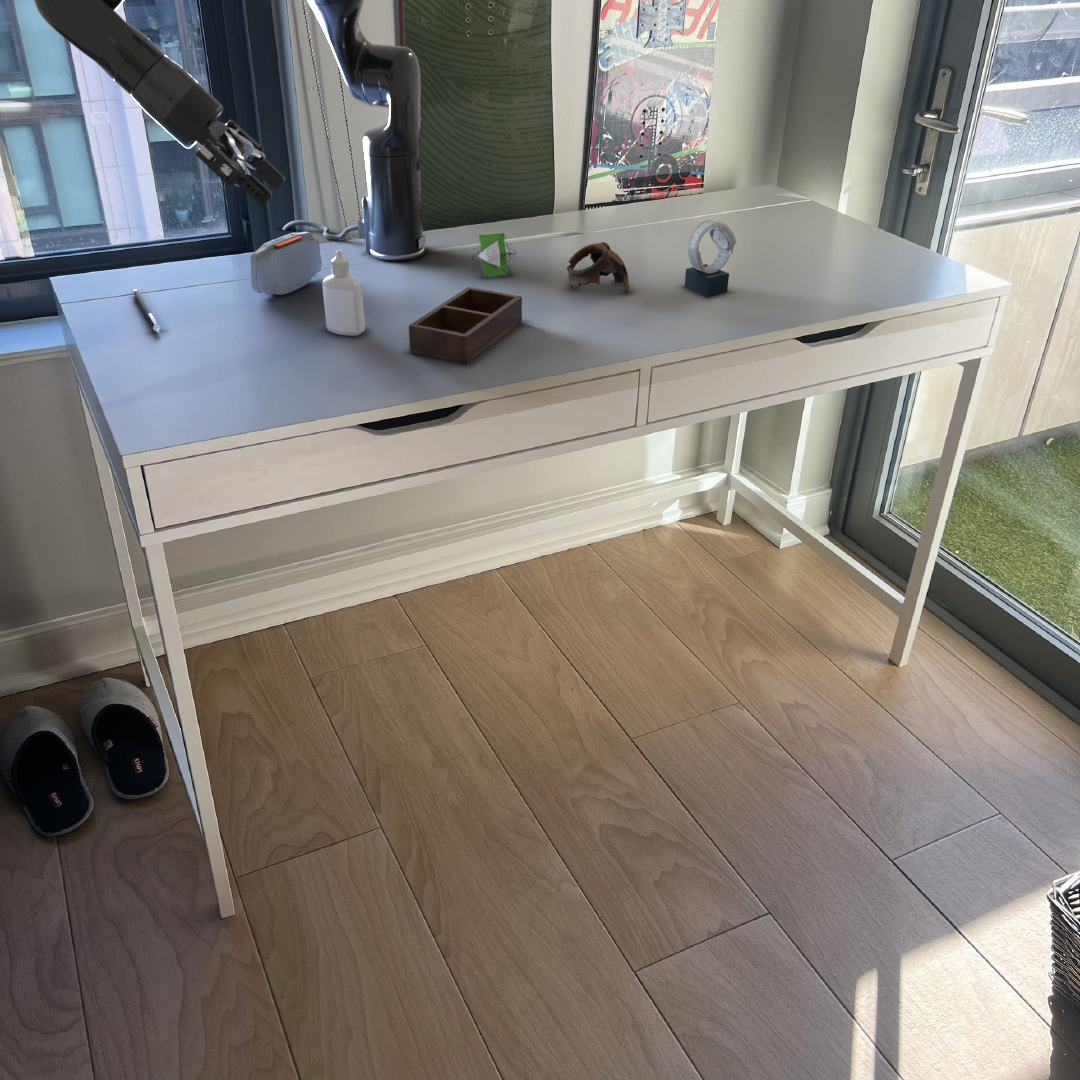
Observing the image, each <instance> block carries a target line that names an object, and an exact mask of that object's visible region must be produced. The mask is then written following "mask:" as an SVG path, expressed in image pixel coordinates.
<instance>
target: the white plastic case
mask: <svg viewBox="0 0 1080 1080" xmlns="http://www.w3.org/2000/svg"><path fill="white" fill-rule="evenodd" d="M320 246H321V245H320V241H319V240H318V239H314V237H313V234H312V232H310V231H300V232H290V233H287V234H285V235H282V236H280V237H278V238H275V239H271V240H269V241H267V242H265V243H263V244H262V245H261V246H260V247H259V248H257V250H254V252H253V253H252V254H251V255H250V278H251V289H252V290H253V292H255V293H256V294H260V295H261V294H264V295H265V294H266V295H268V296H269V295H279V296H282V295H285V294H286V295H287V294H289V293H292V292H294V291H297V290H299V289H301V288H302V287H304V286H306V285H307V284H309V283H311V280H312V279H313V277H314V276H315V275H317V274H318V273H320V271H321V270H322V265H323V263H322V255H321V248H320Z"/></svg>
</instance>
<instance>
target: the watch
mask: <svg viewBox="0 0 1080 1080" xmlns="http://www.w3.org/2000/svg"><path fill="white" fill-rule="evenodd" d="M706 233H708V235H709V236H710V239H711V240H712V242H713V243H714V244H715V246H716V249H717V250H718V253H717V255H716V256H715V259H714V260H713V261H712V263H710V264H707V263H703V259H702V255H701V252H700V242H701V241H702V238H703V237H704V236H705V234H706ZM736 244H737V239H736V236H735V234H734V232H733V230H732V229H731V228H730V227H729V226H728V225H727V224H726V223H724V222H723V221H720V220H715V221H714V220H711V219H707V220H704V221H702V222H700V223H699V224H697V226H695V228H694V229H693V230H692V233H691V235H690V237H689V240H688V244H687V245H688V247H687V255H688V259H689V262H690V264H691V267H688V268H685V274H684V287H683V288H685V289H686V290H689V291H691V292H693V293H695V294H698V295H700V296H702V297H705V298H711V297H715V296H718V295H719V296H720V295H723V294H727V293H728V289H729V279H730V273H729V272H727V271H724V270H722V268H723V267H724V266H725V265H726V264H727V262H728V261H729V259H730V257H731V255H732V254H733V252H734V247H735V245H736Z"/></svg>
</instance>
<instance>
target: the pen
mask: <svg viewBox="0 0 1080 1080" xmlns="http://www.w3.org/2000/svg"><path fill="white" fill-rule="evenodd" d="M133 294H134V297H135V299H136V300H137V303H139V304H138V305H140V308H141V310H142V311H143V312H144V314H145V315H144V316H146V318H147V320H148V322H149V323H150V326H151V327H152V329H153V331H154V332H157V333H160V332H161V331H160V329H161V328H160V325H159V324H158V322H157V320H156V318H155V317H154V315H153V313H152V311H151V310H150V307H149V306H148V305H147V302H146V301H145V299H144V297H143V295H142V293H141V292H140V290H138V289H136V288H135V289H133Z"/></svg>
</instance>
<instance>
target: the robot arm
mask: <svg viewBox="0 0 1080 1080" xmlns="http://www.w3.org/2000/svg"><path fill="white" fill-rule="evenodd" d="M124 1H125V0H34V4H35V7H36V9H37V11H38V13H39V15H40V16H41V17H42V19H43V20H44V21H45V23H46V24H48V26H50V27H51V28H52V29H53V30H54V31H55V32H56V33H58V34H59V35H60V36H62V37H63V38H64V39H65V40H66V41H68V43H70V44H71V45H73V46H74V47H75V48H77V49H78V51H80V52H81V53H83V54H84V55H85V56H86V57H88V58H90V60H91V61H93V62H95V63H96V65H98V66H99V67H100V68H101V69H102V70H103V71H104V72H105V73H106V75H108V76H109V77H110V79H112V81H113V82H115V83H116V84H117V85H118V86H120V87H121V89H123V90H124V91H125V92H126V93H127V94H128V95H130V96H131V98H133V100H134V101H135V102H136V103H137V104H138V105H139V106H140V107H141V109H142V110H143V111H144V112H145V113H146V114H147V115H148V116H150V118H151V119H153V120H154V121H155V122H156V123H157V124H158V125H159V126H160V127H162V128H163V129H164V130H165V131H166V132H167V133H168V134H169V135H170V136H172V138H174V139H175V140H176V141H177V142H178V143H179V144H181V146H183V148H185V149H191V148H193V147H194V146H195V145H196V144H198V145H199V148H197V150H196V151H195V152H194V154H195V155H196V157H197V158H198V159H199V160H200V161H201V162H202V163H203V164H205V166H207V167H208V168H209V169H210V170H211V171H212V172H213V173H214V174H215V175H216V176H217V177H218V178H219V179H220V180H221V181H223V182H224V184H226V185H227V186H228V187H230V188H232V187H234V186H235V187H237V188H241V189H242V190H243V191H244V192H245V193H246V194H247V195H249V196H250V197H251V198H252V199H253V200H254V201H255V202H256V203H257V204H259V206H264V205H266V203H268V201H269V200H270V199H271V198H272V196H273V192H272V191H271V190H270V189H269V188H268V187H267V186H266V185H265V184H263V182H261V181H260V180H259V179H258V178H257V177H256V176H255V175H254V174H253V173H251V172H250V170H249V169H248V168H250V169H252V170H253V171H254V172H255V173H256V174H257V175H258V176H259V177H260V178H261V179H262V180H263V181H265V182H266V184H268V185H269V187H271V189H273V190H278V189H279V188H280V186H281V185H282V184H283V183H284V182H285V180H286V177H285V175H284V174H282V173H281V172H280V170H278V169H277V168H276V167H275V166H274V165H273V164H272V163H271V162H270V161H268V160H267V159H266V155H265V153H264V152H266V151H265V148H264V147H263V146H262V145H261V144H260V143H258V141H256V139H254V138H253V137H252V136H251V135H249V133H248V132H246V131H245V130H244V129H243V128H242V127H241V126H239V124H237V123H236V122H235V120H233V119H229V120H228V121H227V122H226V123H224V122H222V121H221V120H220V119H219V117H220V116H221V115H222V113H223V111H224V106H223V105H222V103H220V102H219V100H217V98H215V97H214V96H213V95H212V94H211V93H210V92H209V91H207V90H206V89H205V88H204V86H203V85H202V84H201V83H199V82H198V81H197V80H196V79H195V78H194V77H193V76H192V75H191V74H189V72H187V71H186V70H185V69H184V68H183V67H182V66H181V65H179V64H178V63H177V62H175V61H173V60H172V59H171V58H170V57H169V56H168V55H166V54H165V53H164V52H163V51H162V50H161V49H160V48H159V47H158V46H157V45H156V44H155V43H154V42H153V41H152V40H151V39H150V38H148V37H147V36H146V35H145V34H144V33H142V31H140V30H139V29H138V28H136V27H135V26H133V25H131V24H129V23H128V22H127V21H126V20H124V18H122V17H121V16H120V15H119V14H118V13H117V12H116V10H117V9H118V8H119V7H120V6H121V4H123V2H124ZM364 1H365V0H306V3H307V5H308V6H309V7H310V9H311V11H312V12H313V14H314V17H315V18H316V20H317V22H318V25H320V28H321V30H322V32H323V34H324V36H325V38H326V40H327V43H328V44H329V46H330V48H331V51H332V53H333V55H334V58H335V60H336V64H337V65H338V67H339V70H340V73H341V75H342V77H343V80H344V82H345V84H346V87H347V90H349V93H350V94H351V97H353V99H354V100H356V101H357V102H358V103H360V104H361V105H364V106H368V107H374V108H375V107H376V108H385V109H388V120H387V122H386V123H385V124H384V125H380V126H377V127H374V128H371V129H369V130H366V131H365V132H364V133H363V135H362V151H363V164H364V177H365V190H366V195H365V196H364V197H362V199H361V207H362V218H359V219H358V220H357V223H356V224H353V225H349V226H347V227H345V228H344V229H343V231H342V232H341V233H339V234H331V233H330V232H331V229H330V228H329V227H328V226H326V225H323V224H320V223H317V222H314V221H310V220H304V219H302V220H301V219H299V220H298V219H297V220H292V221H290V222H288V223H286V224H285V225H284V226H283V227H282V230H283V231H289V230H290V229H291V228H292V227H296V226H305V227H306V226H307V227H310V228H314V229H317V230H320V231H323V232H322V236H323V237H324V238H325V239H328V240H333V241H341V240H343V239H345V238H346V237H347V235H348V234H349V233H350V232H353V231H357V232H358V239H363V240H364V243H365V244H364V245H365V253H366V254H369V255H370V256H372V257H373V258H376V259H380V260H383V261H396V262H397V261H409V260H413V259H416V258H419V257H421V256H423V255H424V253H425V245H426V234H424V224H423V221H424V220H423V203H422V179H421V161H420V135H421V88H422V87H421V70H420V69H421V68H420V64H419V60H418V57H417V55H416V53H415V52H414V50H413V49H412V48H410V47H407V46H401V45H387V44H376V43H372V42H370V41H369V40H368V39H367V38H366V37H365V35H364V33H363V31H362V29H361V26H360V24H359V19H360V14H361V13H362V8H363V3H364ZM247 167H248V168H247Z"/></svg>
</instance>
